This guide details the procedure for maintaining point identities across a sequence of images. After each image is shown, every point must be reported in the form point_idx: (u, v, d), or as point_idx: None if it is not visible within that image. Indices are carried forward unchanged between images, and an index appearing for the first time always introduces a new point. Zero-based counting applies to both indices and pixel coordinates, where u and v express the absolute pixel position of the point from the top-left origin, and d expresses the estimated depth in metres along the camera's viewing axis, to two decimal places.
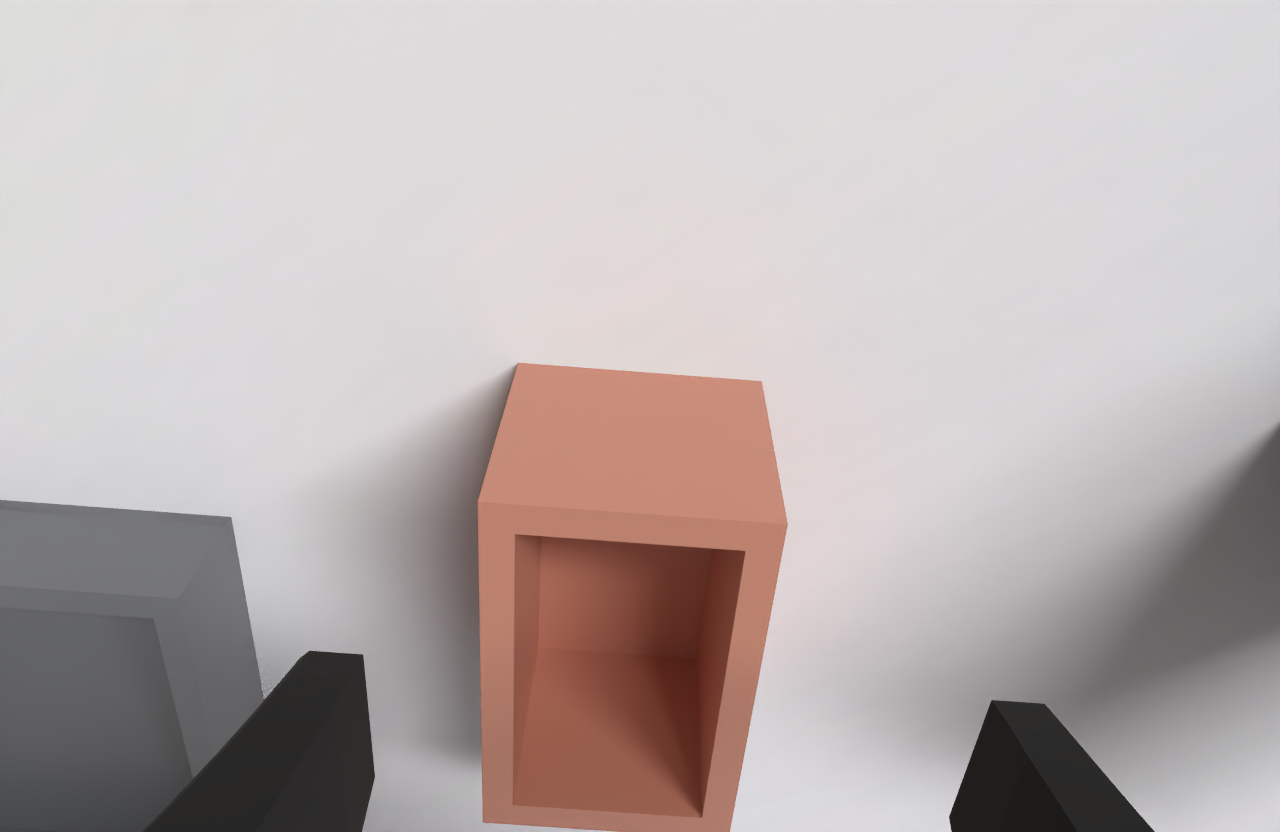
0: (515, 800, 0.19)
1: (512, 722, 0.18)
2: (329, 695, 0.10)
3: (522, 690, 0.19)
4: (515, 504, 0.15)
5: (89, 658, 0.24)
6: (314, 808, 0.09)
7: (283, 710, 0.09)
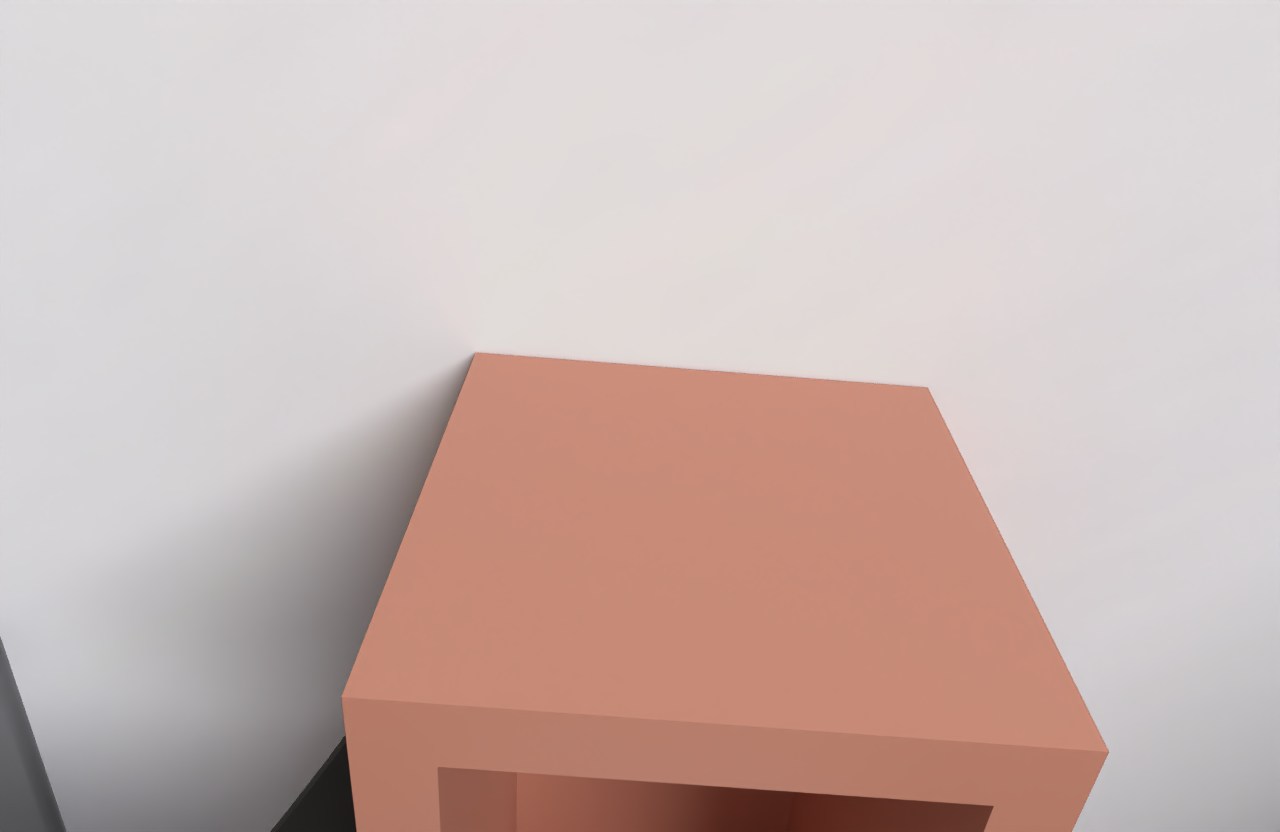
0: None
1: None
2: None
3: None
4: (435, 704, 0.06)
5: None
6: None
7: None
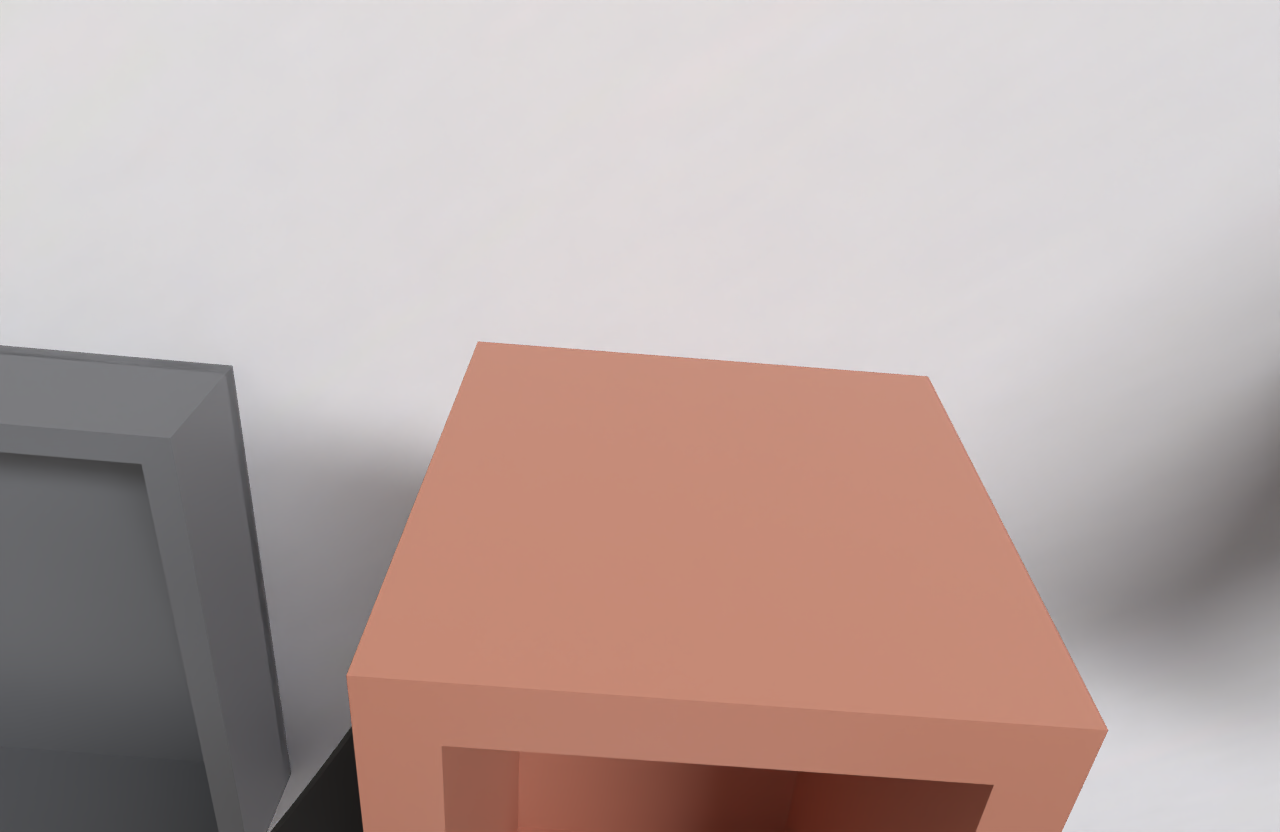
0: None
1: None
2: None
3: None
4: (439, 683, 0.06)
5: (67, 538, 0.21)
6: None
7: None
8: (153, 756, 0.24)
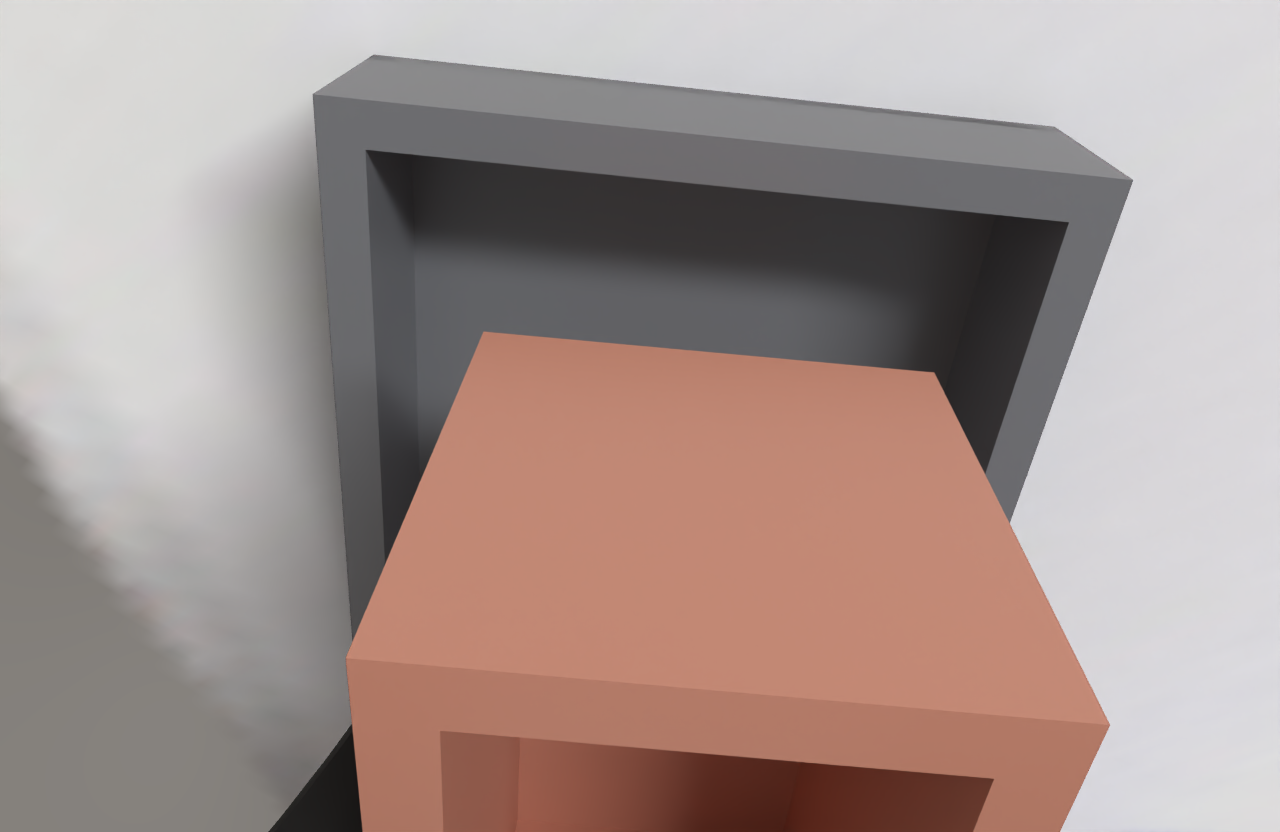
0: None
1: None
2: None
3: None
4: (439, 667, 0.06)
5: None
6: None
7: None
8: None
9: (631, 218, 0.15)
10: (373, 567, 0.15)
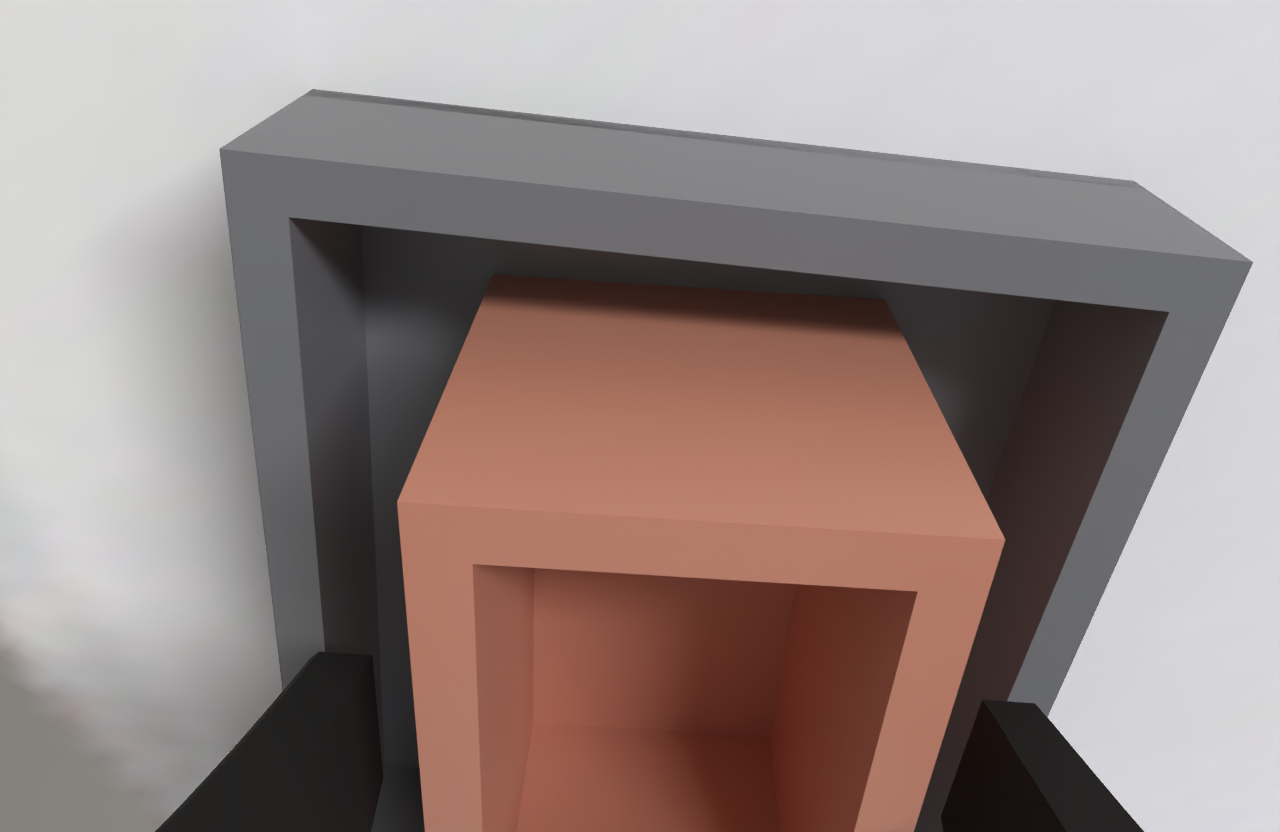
0: None
1: None
2: (339, 696, 0.10)
3: (504, 812, 0.12)
4: (471, 506, 0.08)
5: None
6: (325, 809, 0.09)
7: (294, 711, 0.09)
8: None
9: None
10: None
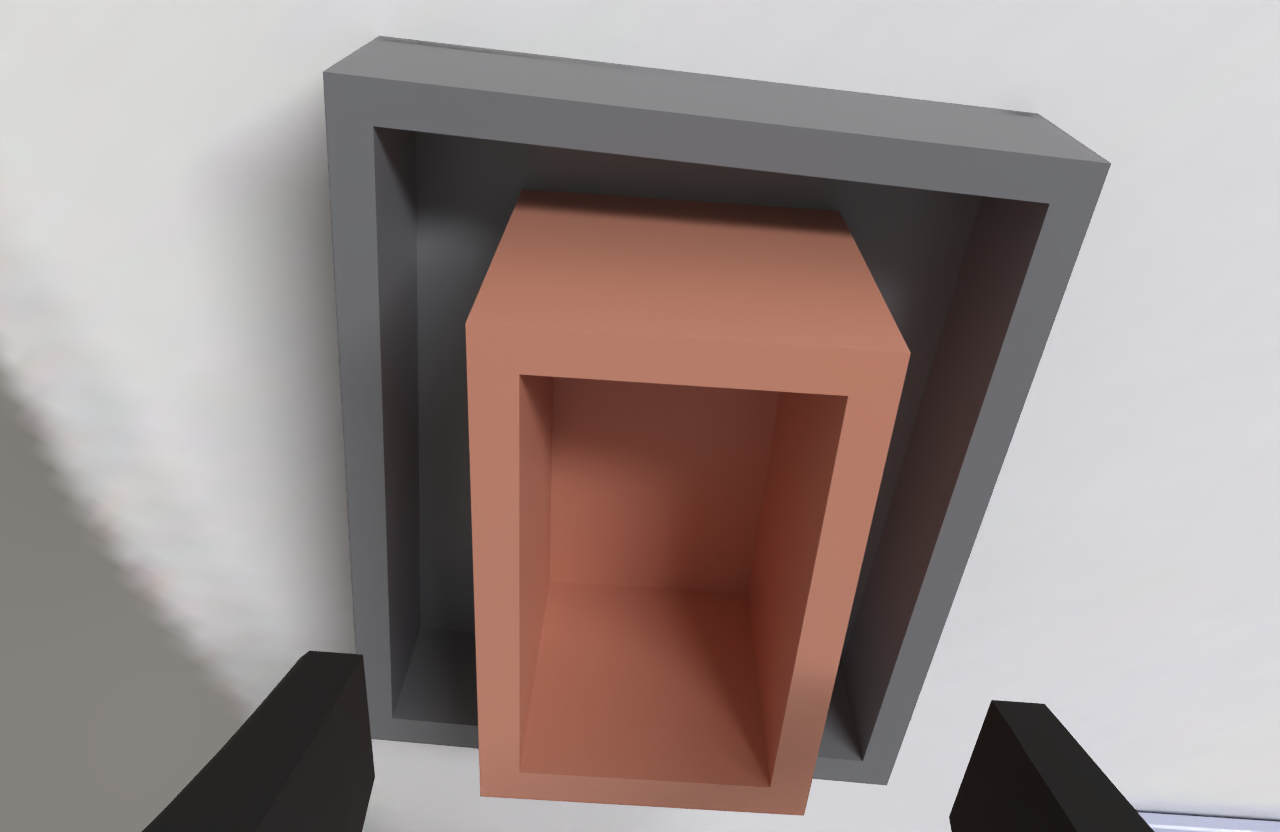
0: (523, 766, 0.15)
1: (518, 657, 0.13)
2: (329, 695, 0.10)
3: (531, 622, 0.15)
4: (520, 326, 0.11)
5: None
6: (314, 808, 0.09)
7: (283, 710, 0.09)
8: None
9: None
10: (374, 536, 0.15)
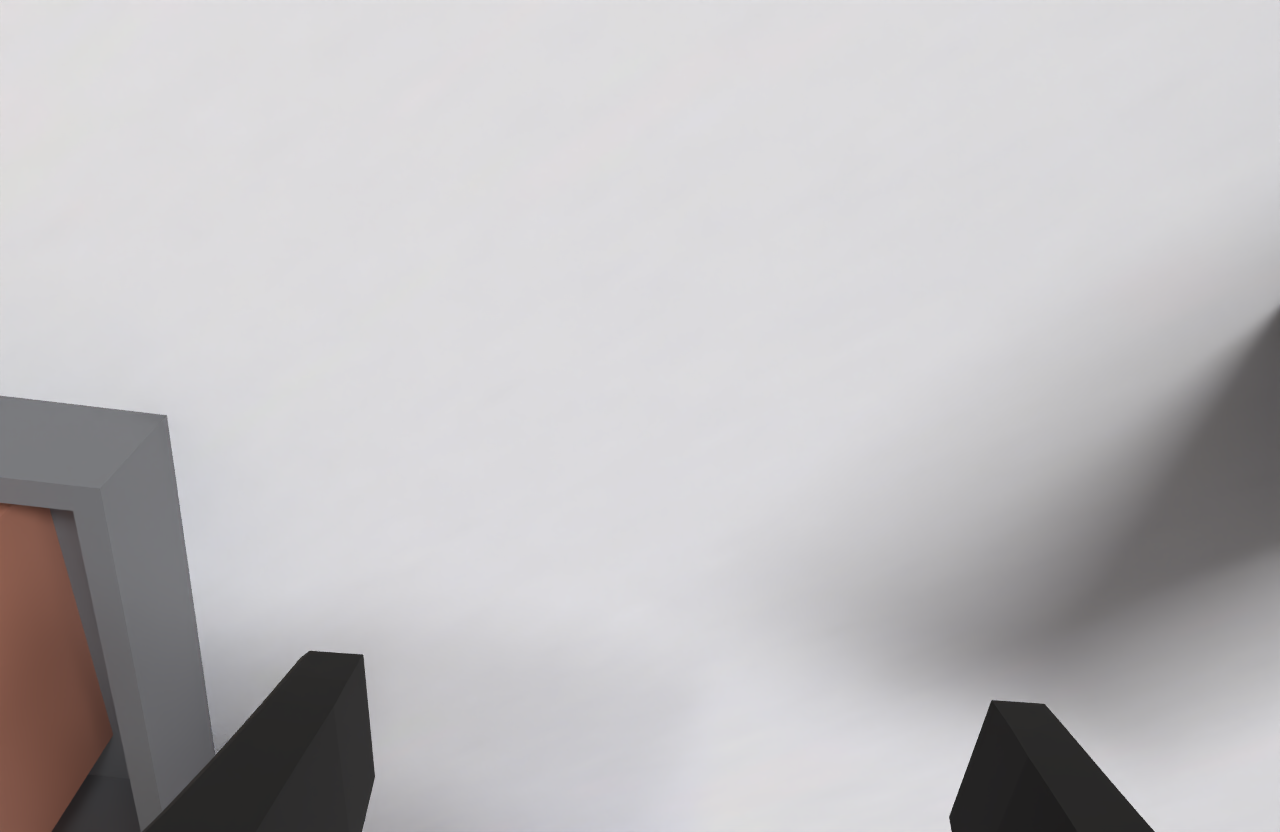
0: None
1: None
2: (329, 695, 0.10)
3: None
4: None
5: None
6: (314, 808, 0.09)
7: (283, 710, 0.09)
8: None
9: None
10: None
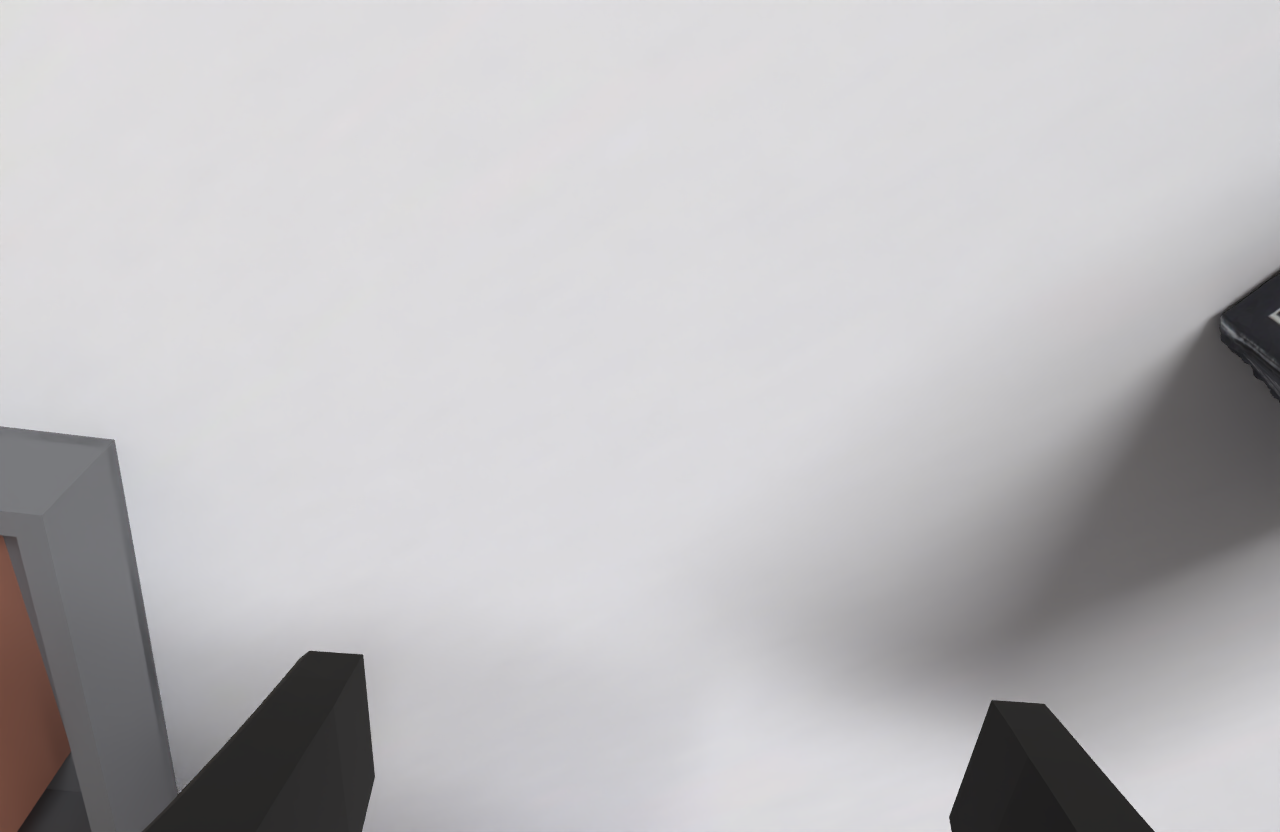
0: None
1: None
2: (329, 695, 0.10)
3: None
4: None
5: None
6: (314, 808, 0.09)
7: (283, 710, 0.09)
8: (47, 787, 0.26)
9: None
10: None
